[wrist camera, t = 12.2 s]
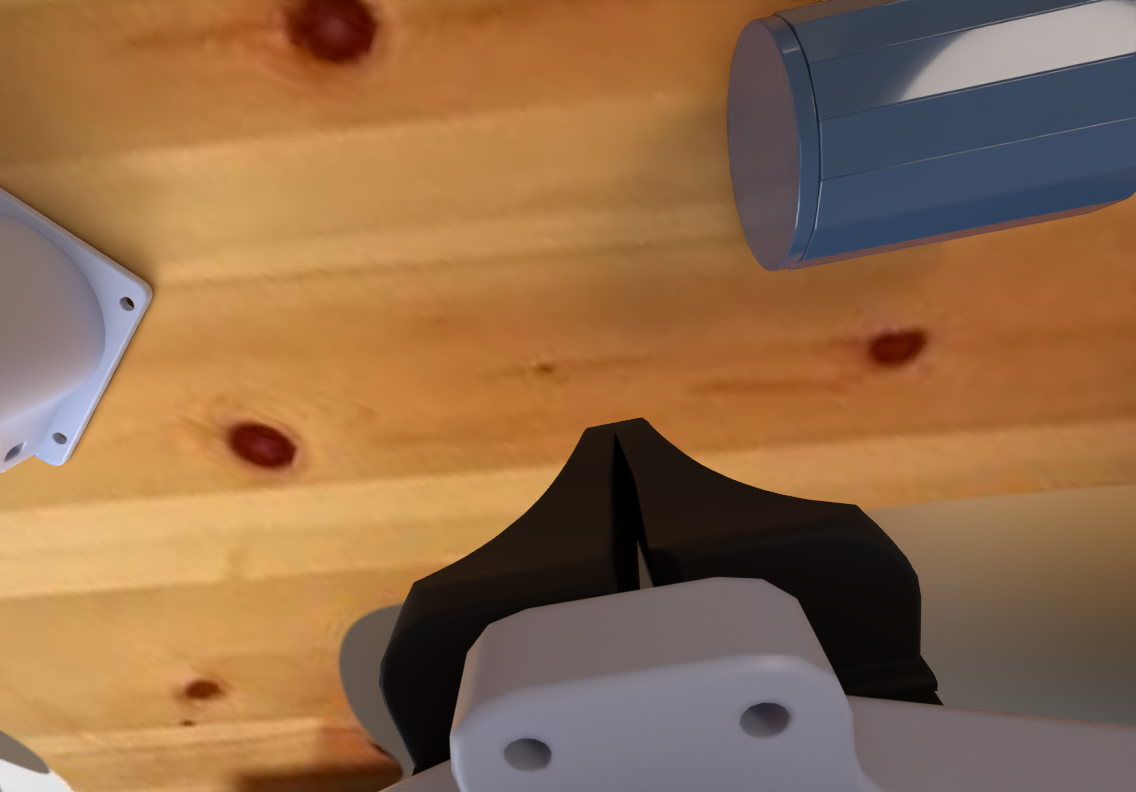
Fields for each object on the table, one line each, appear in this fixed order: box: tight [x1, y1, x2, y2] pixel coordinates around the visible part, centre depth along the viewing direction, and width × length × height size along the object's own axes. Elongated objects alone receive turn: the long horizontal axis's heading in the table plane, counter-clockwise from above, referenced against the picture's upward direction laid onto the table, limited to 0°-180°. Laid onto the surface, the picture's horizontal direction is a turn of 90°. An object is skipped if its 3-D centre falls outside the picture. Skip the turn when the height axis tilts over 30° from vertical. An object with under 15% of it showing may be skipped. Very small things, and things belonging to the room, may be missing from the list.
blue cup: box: [727, 0, 1136, 271], centre depth 16 cm, size 7×7×9 cm
